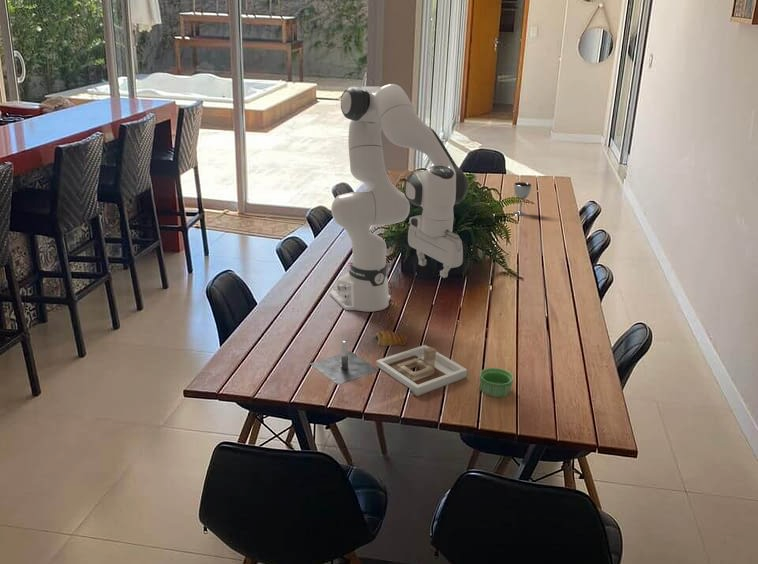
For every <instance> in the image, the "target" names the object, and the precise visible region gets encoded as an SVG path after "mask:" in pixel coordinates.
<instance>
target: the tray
mask: <svg viewBox="0 0 758 564" xmlns="http://www.w3.org/2000/svg"><path fill="white" fill-rule="evenodd" d="M429 347H430V346H428V345H426V344H423V345H420V346H417V347H414V348H411V349H408V350H405V351H401V352H399V353H395V354H393V355H389V356H386V357H383V358H380V359H376V361H375V366H376V368H377V367H378V369H381V371H383V372H385V373H387V374H388V375H389V376H391V377H392V378H394V379H395V380H397V381H398V382H399V383H401V384H402V385H405V386H406V387H408V389H410V390H409V392H410V393H411V394H412V395H414V396H416V397H420V396H421V395H423V394H426V393H430V392H431V391H435V390H437V389H440V388H443V387H445V386H449V385H451V384H453V383H457V382H459V381H461V380H465V379H467V376H468V369H467V368H465V367H464V366H462V365H460V364H459V363H457V362H455V361H453V360H452V359H450V358H448V357H447V356H444V355H443V354H441V353H440V352H438V351H436V357H435V367H434V368H435V369H436V370H438V371H440V372H441V373H443V374H444V375H441V376H439V377H435V378H432V379H430V380H427V381H425V382H422V383H418V384H417V383H416V382H415V381H412V380H411V379H409V378H408V377H406V376H405V375H403V374H402V373H400V372H399V371H397V370H396V369H395V368H393V367H392V366H390V365H389V364H393V363H396V362H398V361H402V360H405V359H407V358H411V357H414V356H416V358H418V359H420V360H422V361H424V349H426V348H429Z"/></svg>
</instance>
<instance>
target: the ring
mask: <svg viewBox="0 0 758 564" xmlns="http://www.w3.org/2000/svg"><path fill="white" fill-rule="evenodd" d="M428 347H429V348H426V349H424V360H422V359H420V358H419V357H416V358H412V359H411V360H406V361H404V362H400V363H398V364H396V369H395V370H396V371H398V372H399V373H401V374H402V375H404V376H405V377H407V378H408V379H410V380H411V381H413V382H415V381H419V380H421V379H424V378H427V377H430V376H432V375H435V373H436V368H435V357H436V352H437V349H436V348H434V347H432V346H428ZM416 367H417V368H418V369H420V370H417V371H413V370H412V369H413V368H416Z"/></svg>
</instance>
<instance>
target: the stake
mask: <svg viewBox="0 0 758 564" xmlns="http://www.w3.org/2000/svg"><path fill="white" fill-rule="evenodd" d="M340 343H341V344H340V354H336V355H333V356H329V357H327V358H323V359H321V360H317V361H314V362H310V363H309V365H310V366H312V367H313V368H314V369H316V370H317V371H318V372H320V374H322V375H324V376H325V377H326V378H327V379H329V380H330V381H331V382H333V383H335V384H336V385H337V386H339V385H341V384H344V383H347V382H350V381H354V380H356V379H360V378H363V377H365V376H368V375H371V374H375V373H377V372H380V370H379V368H378V369H377V367H375V366H373V365H372V364H371V363H369V362H368V361H366V360H364V359H363V358H361V357H360V356H358V355H357V354H355V353H354V352H352V350H349V340H348V339H341V341H340Z"/></svg>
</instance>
